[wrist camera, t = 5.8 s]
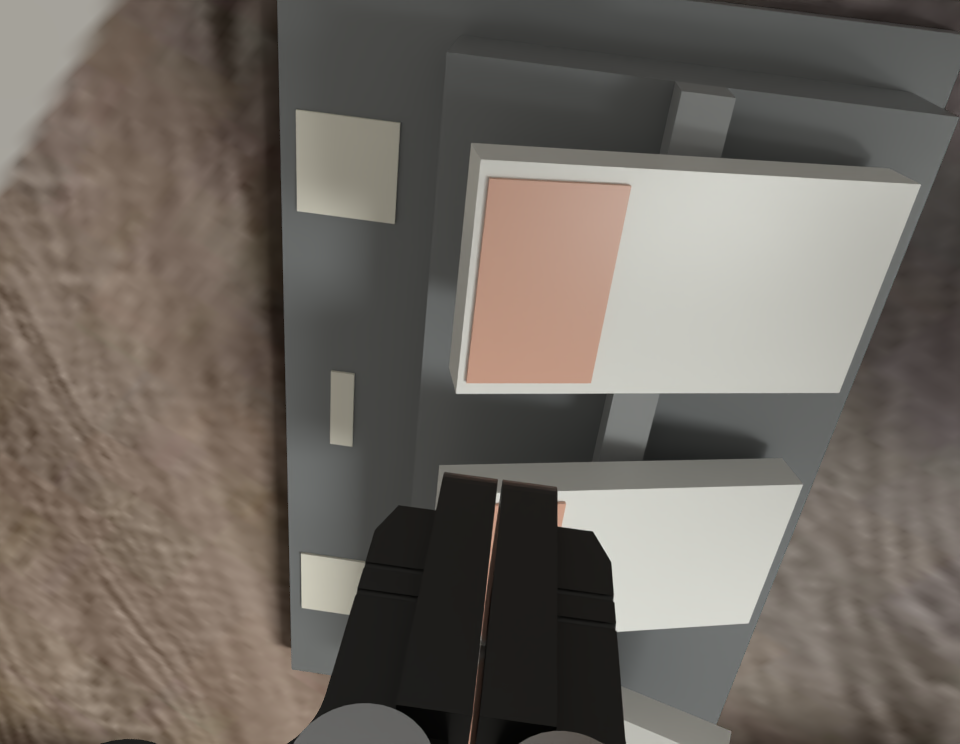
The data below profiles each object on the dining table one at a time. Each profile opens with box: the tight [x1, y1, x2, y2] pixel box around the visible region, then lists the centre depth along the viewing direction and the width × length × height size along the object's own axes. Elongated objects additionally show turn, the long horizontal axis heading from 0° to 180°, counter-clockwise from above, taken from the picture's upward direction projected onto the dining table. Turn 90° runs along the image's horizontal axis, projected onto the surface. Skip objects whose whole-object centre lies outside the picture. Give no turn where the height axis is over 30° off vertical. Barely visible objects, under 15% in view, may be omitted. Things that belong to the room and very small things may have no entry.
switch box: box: [277, 0, 960, 725], centre depth 26 cm, size 18×28×5 cm, turn 174°
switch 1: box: [449, 143, 921, 394], centre depth 19 cm, size 10×6×1 cm, turn 84°
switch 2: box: [435, 458, 803, 635], centre depth 23 cm, size 10×6×1 cm, turn 84°
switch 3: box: [468, 642, 731, 744], centre depth 27 cm, size 10×6×1 cm, turn 84°
